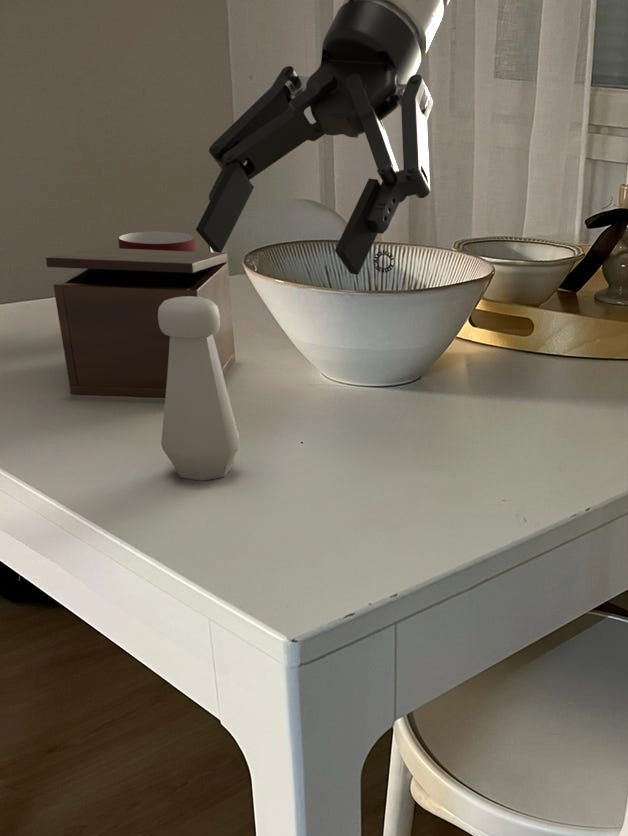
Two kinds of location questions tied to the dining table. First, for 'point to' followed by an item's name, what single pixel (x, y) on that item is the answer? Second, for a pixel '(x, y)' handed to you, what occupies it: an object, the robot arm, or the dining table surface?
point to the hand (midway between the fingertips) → (274, 252)
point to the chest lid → (138, 260)
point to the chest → (131, 326)
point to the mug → (158, 241)
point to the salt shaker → (196, 392)
